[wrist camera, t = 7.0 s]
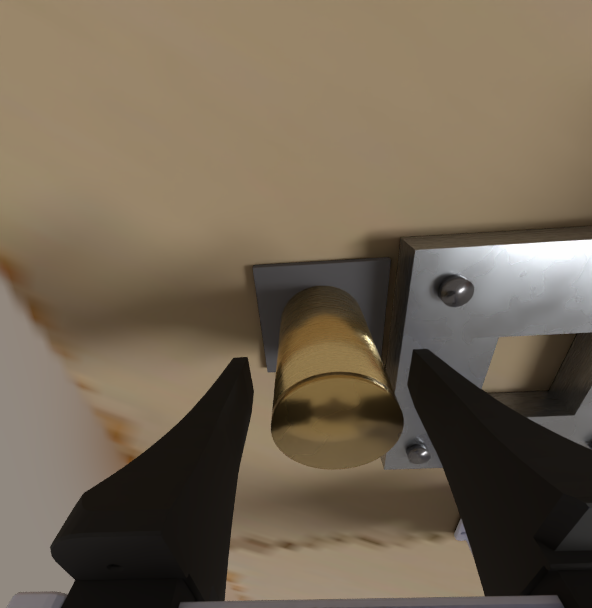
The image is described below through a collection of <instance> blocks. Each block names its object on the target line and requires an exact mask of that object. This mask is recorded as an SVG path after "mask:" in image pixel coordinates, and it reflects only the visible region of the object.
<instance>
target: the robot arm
mask: <svg viewBox="0 0 592 608" xmlns="http://www.w3.org/2000/svg"><path fill="white" fill-rule="evenodd" d="M407 386H408V389H409V392H410V396H411V399H412V401H413V404H414V407H415V409H416V411H417V414H418V416H419V418H420V420H421V422H422V424H423V426H424V428H425V430H426V432H427V434H428V436H429V439H430V441H431V443H432V445H433V447H434V449H435V451H436V453H437V455H438V457H439V460H440V462H441V464H442V466H443V469H444V472H445V474H446V477H447V480H448V482H449V485H450V488H451V491H452V493H453V496H454V499H455V502H456V505H457V508H458V511H459V513H460V516H461V519H460V521H459V524H458V526H457V529H456V531H455V533H454V536H455V538H456V540H460V541H461V540H466V541H467V543H468V546H469V548H470V550H471V553H472V555H473V557H474V560H475V563H476V567H477V570H478V574H479V577H480V580H481V584H482V587H483V591H484V594H485V596H483V597H428V598H372V599H317V600H261V601H224V600H225V589H226V578H227V567H228V556H229V547H230V537H231V527H232V519H233V510H234V502H235V494H236V487H237V479H238V472H239V467H240V462H241V457H242V453H243V449H244V444H245V440H246V436H247V431H248V427H249V422H250V418H251V413H252V404H253V394H254V390H253V384H252V379H251V373H250V368H249V362H248V357H240V358H233V359H232V360H231V362H230V363H229V364H228V366H227V367H226V368H225V370H224V371H223V373H222V374H221V375H220V376H219V378H218V379H217V380H216V382H215V383H214V384H213V385H212V387H211V388H210V389H209V390H208V391H207V393H206V394H205V395H204V396H203V397H202V398H201V400H200V401H199V402H198V403H197V404H196V405H195V406H194V407H193V409H192V410H191V411H190V412H189V413H188V414H187V415H186V416H185V417H184V418H183V419H182V420H181V421H180V422H179V423H178V424H177V425H176V426H175V427H173V428H172V429H171V430H170V431H169V432H168V433H167V434H166V435H164V436H163V437H162V438H161V439H160V440H158V441H157V442H156V443H155V444H154V445H152V446H151V447H150V448H149V449H147V450H146V451H145V452H144V453H142V454H141V455H140V456H138V457H137V458H136V459H134V460H133V461H132V462H130V463H129V464H127V465H126V466H125V467H123V468H122V469H120V470H119V471H117V472H116V473H114V474H113V475H111V476H110V477H109V478H107V479H105V480H104V481H102V482H101V483H99V484H97V485H96V486H95V487H93V488H91V489H90V490H88V491H87V492H85V493H84V494H83V495H82V496H81V498H80V499H79V501H78V502H77V504H76V505H75V507H74V508H73V510H72V512H71V513H70V515H69V516H68V518H67V520H66V521H65V523H64V525H63V526H62V528H61V530H60V531H59V533H58V534H57V536H56V538H55V539H54V541H53V543H52V545H51V547H50V548H51V554H52V557H53V558H54V560H55V561H56V562H57V563H58V564H59V565H60V566H61V567H62V568H63V569H64V570H65V571H66V572H67V573H68V574H70V576H72V577H73V578H74V579H75V582H74V584H73V586H72V588H71V590H70V592H69V594H68V595H67V594H65V593H61V592H19V593H17V594H15V595H14V596H13V597H12V599H11V601H10V602H9V604H8V605H7V607H6V608H592V450H591V449H589V448H587V447H584V446H582V445H580V444H578V443H576V442H573V441H571V440H569V439H567V438H565V437H563V436H561V435H559V434H557V433H555V432H553V431H551V430H549V429H547V428H545V427H543V426H541V425H540V424H538V423H536V422H534V421H532V420H530V419H528V418H527V417H525V416H523V415H521V414H520V413H518V412H516V411H515V410H513V409H511V408H510V407H508V406H506V405H504V404H503V403H501V402H500V401H498V400H497V399H495V398H494V397H492V396H491V395H489V394H488V393H486V392H485V391H483V390H482V389H480V388H479V387H477V386H476V385H475V384H473V383H472V382H470V381H469V380H468V379H466V378H465V377H464V376H462V375H461V374H460V373H458V372H457V371H456V370H454V369H453V368H452V367H450V366H449V365H448V364H447V363H445V362H444V361H443V360H442V359H440V358H439V357H438V356H436V355H435V354H434V353H433V352H431V351H430V350H428V349H413V352H412V358H411V364H410V370H409V376H408V382H407Z"/></svg>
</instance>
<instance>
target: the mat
mask: <svg viewBox="0 0 592 608" xmlns="http://www.w3.org/2000/svg"><path fill="white" fill-rule="evenodd" d="M390 264H391V259H390V258H389V257H385V258H368V259H351V260H334V261H317V262H299V263H282V264H265V265H254V266H253V274H254V281H255V288H256V295H257V301H258V308H259V315H260V322H261V329H262V336H263V343H264V350H265V357H266V364H267V371H268V372H276V368H277V357H278V346H279V335H280V324H281V316H282V312H283V309H284V307H285V306H286V304H287V303H288V301H289V300H290V299H291V298H292V297H293V296H294V295H296V294H297V293H299V292H300V291H302V290H305V289H307V288H310V287H314V286H332V287H336V288H339V289H342V290H344V291H346V292H347V293H349V294H350V295H351V296H352V297H353V298H354V299H355V300H356V301H357V303H358V304H359V306H360V309H361V311H362V313H363V316H364V318H365V321H366V323H367V326H368V328H369V331H370V333H371V336H372V338H373V341H374V343H375V346H376V348H377V351H378V353H379V356H380V358H381V352H382V343H383V333H384V323H385V313H386V303H387V294H388V284H389V274H390Z"/></svg>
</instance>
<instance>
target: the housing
mask: <svg viewBox="0 0 592 608" xmlns="http://www.w3.org/2000/svg"><path fill="white" fill-rule="evenodd" d="M569 333H578V334H577V336H576V338H575V340H574V342H573V344H572V346H571V348H570V350H569V352H568V354H567V356H566V358H565V360H564V362H563V364H562V366H561V368H560V370H559V372H558V374H557V376H556V378H555V380H554V382H553V384H552V386H551V388H550V390H549V391H535V392H511V393H488V394H489V395H491V396H492V397H494V398H495V399H497V400H498V401H500V402H501V403H503V404H504V405H506V406H508V407H510V408H511V409H513V410H515V411H516V412H518V413H520V414H521V415H523V416H525V417H527V418H528V419H530V420H532V421H534V422H536V423H538V424H540V425H541V426H543V427H545V428H547V429H549V430H551V431H553V432H555V433H557V434H559V435H561V436H563V437H565V438H567V439H569V440H571V441H573V442H576V443H578V444H580V445H582V446H584V447H587V448H589V449H591V450H592V226H583V227H567V228H550V229H534V230H517V231H501V232H484V233H467V234H451V235H434V236H418V237H401V239H400V248H399V257H398V265H397V274H396V283H395V291H394V300H393V309H392V318H391V326H390V335H389V344H388V352H387V361H386V370H385V371H386V373H387V376H388V378H389V381H390V383H391V386H392V388H393V390H394V393H395V395H396V398H397V400H398V403H399V405H400V408H401V410H402V413H403V417H404V427H403V431H402V434H401V436H400V438H399V440H398V441H397V443H396V444H395V445H394V446H393V447H392V448H391V449H390V450H389V451H388V452H387V453H385V454H384V455H383V456H381V460H382V464H383V468H384V470H388V469H418V468H443V466H442V464H441V462H440V460H439V457H438V455H437V453H436V451H435V449H434V447H433V445H432V443H431V441H430V439H429V436H428V434H427V432H426V430H425V428H424V426H423V424H422V422H421V420H420V418H419V416H418V414H417V411H416V409H415V407H414V404H413V401H412V399H411V396H410V392H409V389H408V386H407V382H408V376H409V370H410V364H411V358H412V352H413V349H428V350H430V351H431V352H433V353H434V354H435V355H436V356H438V357H439V358H440V359H442V360H443V361H444V362H445V363H447V364H448V365H449V366H450V367H452V368H453V369H454V370H456V371H457V372H458V373H460V374H461V375H462V376H464V377H465V378H466V379H468V380H469V381H470V382H472V383H473V384H475V385H476V386H477V387H479V388H480V389H481V388H482V385H483V382H484V380H485V377H486V374H487V371H488V368H489V365H490V362H491V359H492V356H493V353H494V350H495V347H496V344H497V341H498V338H499V337H507V336H528V335H548V334H569Z"/></svg>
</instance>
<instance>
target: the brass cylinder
mask: <svg viewBox="0 0 592 608" xmlns="http://www.w3.org/2000/svg"><path fill="white" fill-rule="evenodd" d="M403 427H404V417H403V413H402V410H401V408H400V405H399V403H398V400H397V398H396V395H395V393H394V390H393V388H392V386H391V383H390V381H389V378H388V376H387V373H386V371H385V368H384V366H383V363H382V361H381V358H380V356H379V353H378V351H377V348H376V346H375V343H374V341H373V338H372V336H371V333H370V331H369V328H368V326H367V323H366V321H365V318H364V316H363V313H362V311H361V309H360V306H359V304H358V303H357V301H356V300H355V299H354V298H353V297H352V296H351V295H350V294H349V293H347V292H346V291H344V290H342V289H339V288H336V287H332V286H314V287H310V288H307V289H305V290H302V291H300V292H299V293H297V294H296V295H294V296H293V297H292V298H291V299H290V300H289V301H288V303H287V304H286V306H285V307H284V309H283V312H282V316H281V324H280V335H279V346H278V357H277V368H276V378H275V389H274V400H273V411H272V421H271V433H272V437H273V440H274V442H275V444H276V445H277V447H278V448H279V449H280V450H281V451H282V452H283V453H284V454H285V455H286V456H288V457H289V458H291V459H292V460H294V461H296V462H298V463H301V464H303V465H306V466H310V467H314V468H320V469H347V468H352V467H357V466H361V465H364V464H367V463H369V462H372V461H374V460H376V459H378V458H379V457H381V456H383V455H384V454H385V453H387V452H388V451H389V450H390V449H391V448H392V447H393V446H394V445H395V444H396V443H397V441H398V440H399V438H400V436H401V434H402V431H403Z"/></svg>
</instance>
